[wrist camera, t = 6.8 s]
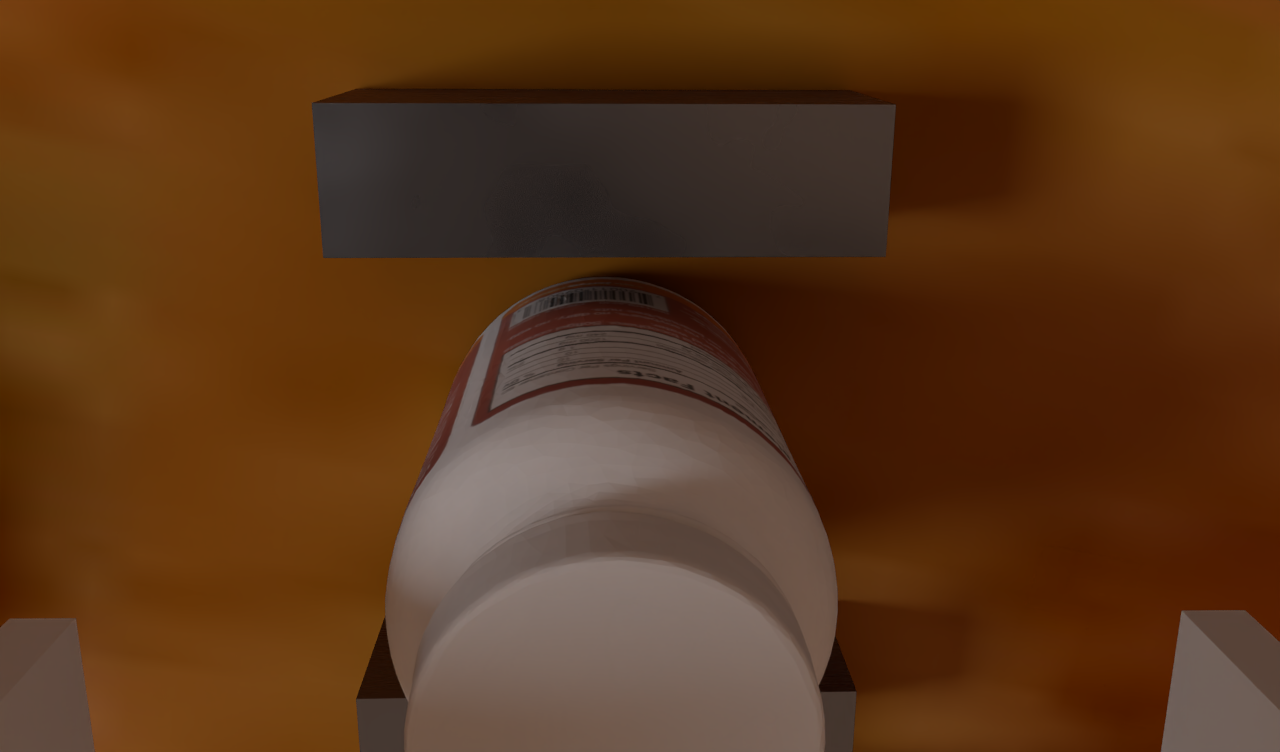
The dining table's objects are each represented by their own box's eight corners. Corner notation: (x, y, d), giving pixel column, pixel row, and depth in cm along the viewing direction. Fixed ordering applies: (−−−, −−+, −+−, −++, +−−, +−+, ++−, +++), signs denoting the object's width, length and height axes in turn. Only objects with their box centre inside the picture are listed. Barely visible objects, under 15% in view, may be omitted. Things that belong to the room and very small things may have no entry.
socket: (356, 88, 21) (259, 120, 15) (850, 90, 22) (951, 121, 16) (410, 940, 27) (354, 1217, 21) (803, 931, 27) (863, 1202, 21)
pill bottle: (603, 619, 25) (608, 1071, 14) (383, 421, 23) (208, 760, 13) (825, 422, 24) (1011, 753, 13) (609, 201, 22) (622, 372, 12)
